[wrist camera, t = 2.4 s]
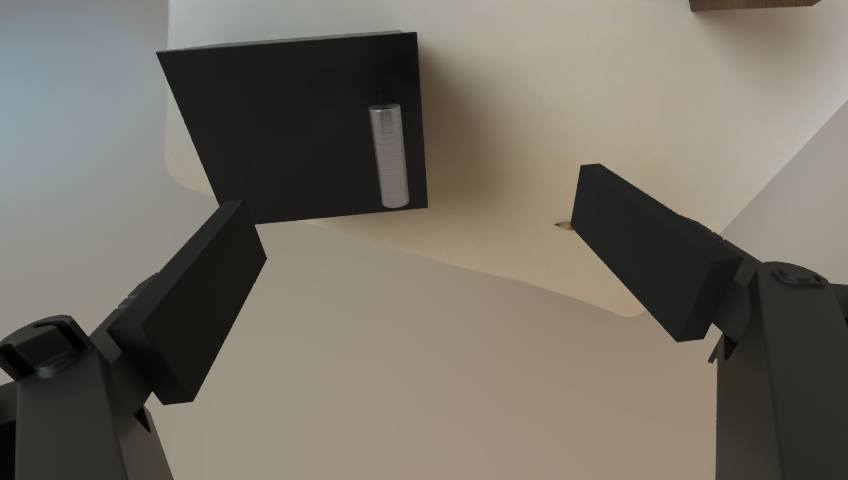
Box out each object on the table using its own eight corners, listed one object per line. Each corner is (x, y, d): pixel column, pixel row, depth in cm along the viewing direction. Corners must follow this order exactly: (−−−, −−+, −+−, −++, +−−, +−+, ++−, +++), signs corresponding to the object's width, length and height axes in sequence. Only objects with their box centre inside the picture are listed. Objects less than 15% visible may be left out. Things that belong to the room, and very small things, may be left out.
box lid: (415, 31, 24) (426, 34, 17) (427, 203, 30) (437, 248, 24) (162, 51, 23) (81, 60, 17) (231, 222, 30) (191, 273, 24)
